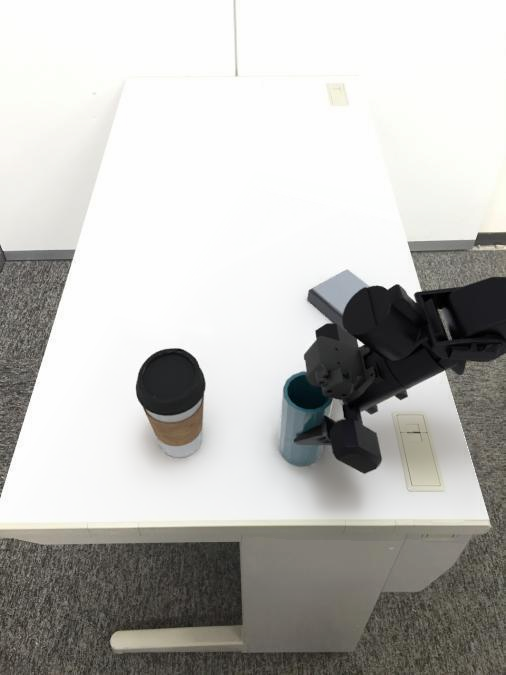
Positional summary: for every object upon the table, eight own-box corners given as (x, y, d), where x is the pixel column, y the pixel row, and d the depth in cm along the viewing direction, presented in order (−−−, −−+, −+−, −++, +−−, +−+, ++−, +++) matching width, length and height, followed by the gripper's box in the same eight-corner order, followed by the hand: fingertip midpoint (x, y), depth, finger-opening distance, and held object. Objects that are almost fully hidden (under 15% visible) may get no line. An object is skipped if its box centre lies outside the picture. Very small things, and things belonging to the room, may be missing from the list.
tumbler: (328, 435, 74) (339, 380, 64) (315, 472, 70) (325, 419, 61) (287, 422, 76) (293, 365, 66) (272, 457, 72) (276, 403, 62)
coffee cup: (219, 420, 76) (213, 353, 64) (199, 473, 70) (189, 410, 59) (164, 407, 77) (149, 339, 66) (140, 457, 72) (120, 393, 60)
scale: (381, 308, 91) (385, 295, 88) (342, 331, 87) (345, 318, 85) (345, 279, 95) (347, 266, 93) (307, 300, 92) (308, 287, 89)
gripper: (341, 272, 62) (247, 337, 70) (369, 407, 49) (251, 467, 57) (395, 318, 68) (302, 372, 76) (432, 448, 56) (316, 496, 64)
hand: (293, 420), depth 68 cm, fingers closed on tumbler, 6 cm apart
